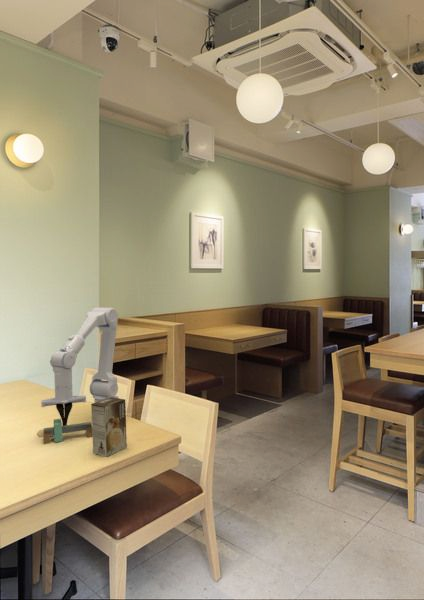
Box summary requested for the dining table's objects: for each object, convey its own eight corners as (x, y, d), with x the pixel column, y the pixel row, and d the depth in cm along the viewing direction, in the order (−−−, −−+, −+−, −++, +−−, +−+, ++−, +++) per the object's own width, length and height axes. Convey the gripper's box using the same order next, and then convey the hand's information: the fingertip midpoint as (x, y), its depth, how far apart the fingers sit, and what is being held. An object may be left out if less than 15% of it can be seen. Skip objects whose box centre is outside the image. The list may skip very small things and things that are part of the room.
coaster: (62, 426, 161) (62, 425, 161) (64, 434, 153) (64, 433, 153) (36, 430, 158) (36, 429, 158) (37, 438, 149) (37, 437, 149)
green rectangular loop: (61, 435, 152) (60, 418, 152) (62, 441, 147) (61, 423, 146) (53, 436, 151) (53, 419, 151) (54, 442, 146) (54, 424, 145)
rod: (91, 432, 155) (90, 420, 155) (92, 436, 151) (92, 424, 151) (43, 438, 149) (43, 426, 149) (43, 443, 145) (43, 431, 144)
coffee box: (113, 443, 144) (112, 396, 144) (127, 447, 141) (126, 399, 140) (92, 453, 137) (90, 403, 136) (106, 457, 133) (105, 406, 132)
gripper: (41, 390, 142) (42, 431, 143) (86, 386, 148) (87, 425, 149) (40, 386, 149) (41, 424, 149) (84, 381, 154) (85, 419, 155)
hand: (64, 424), depth 149 cm, fingers closed
